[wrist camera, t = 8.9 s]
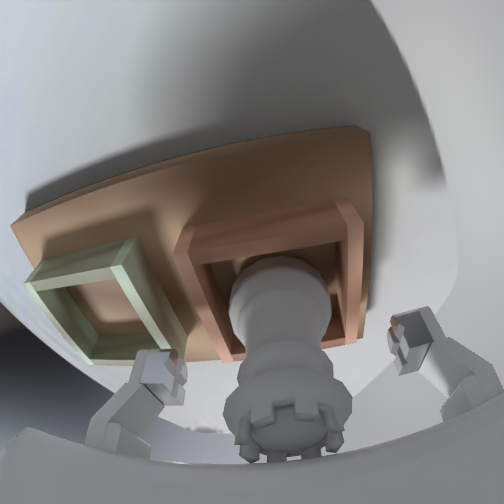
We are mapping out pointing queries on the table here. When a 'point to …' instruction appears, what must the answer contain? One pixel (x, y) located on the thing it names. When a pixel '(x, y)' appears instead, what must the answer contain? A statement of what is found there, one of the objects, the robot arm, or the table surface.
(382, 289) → the table surface
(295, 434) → the rook chess piece
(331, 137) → the board
